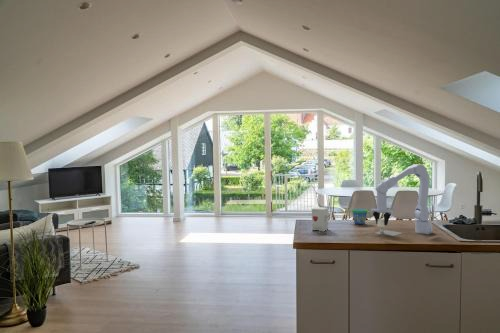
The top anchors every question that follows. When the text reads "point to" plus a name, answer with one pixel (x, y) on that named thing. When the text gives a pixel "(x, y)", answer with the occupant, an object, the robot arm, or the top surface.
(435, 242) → the top surface
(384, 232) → the board
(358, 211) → the snack cup
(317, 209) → the supplement box
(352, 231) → the top surface
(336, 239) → the top surface
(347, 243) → the top surface
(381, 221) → the cap
